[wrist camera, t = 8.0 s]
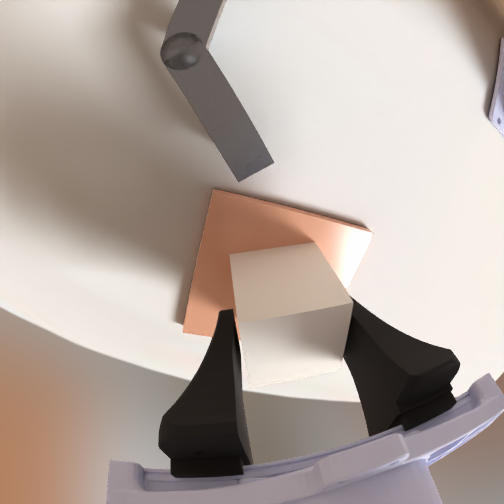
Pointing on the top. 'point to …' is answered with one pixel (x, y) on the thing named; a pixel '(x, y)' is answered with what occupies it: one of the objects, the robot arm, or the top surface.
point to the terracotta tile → (258, 238)
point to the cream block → (289, 313)
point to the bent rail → (211, 86)
